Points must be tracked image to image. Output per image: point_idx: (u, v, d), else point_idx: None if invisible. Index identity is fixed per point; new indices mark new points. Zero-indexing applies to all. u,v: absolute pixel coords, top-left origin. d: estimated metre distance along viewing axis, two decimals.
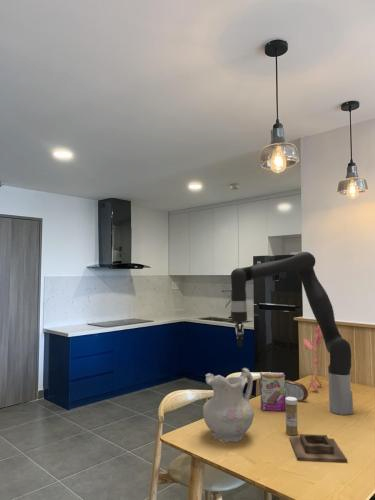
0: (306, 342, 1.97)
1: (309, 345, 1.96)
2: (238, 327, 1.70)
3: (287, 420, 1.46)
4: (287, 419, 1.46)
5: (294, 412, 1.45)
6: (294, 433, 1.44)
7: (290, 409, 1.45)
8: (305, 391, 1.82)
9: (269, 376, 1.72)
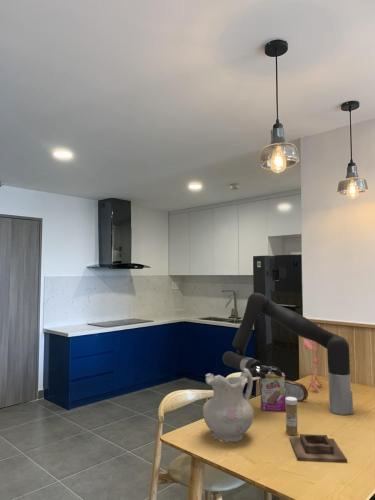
0: (306, 342, 1.97)
1: (309, 345, 1.96)
2: None
3: (287, 420, 1.46)
4: (287, 419, 1.46)
5: (294, 412, 1.45)
6: (294, 433, 1.44)
7: (290, 409, 1.45)
8: (305, 391, 1.82)
9: (269, 376, 1.72)
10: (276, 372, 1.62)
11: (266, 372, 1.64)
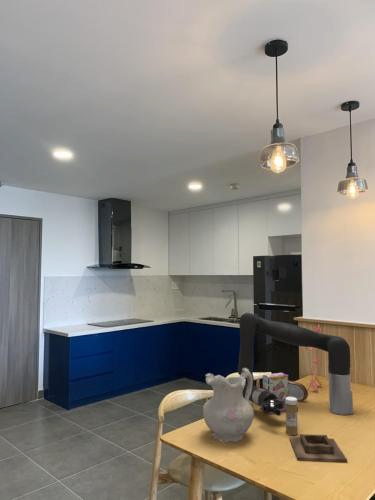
0: None
1: None
2: (260, 408, 1.54)
3: (287, 420, 1.46)
4: (287, 419, 1.46)
5: (294, 412, 1.45)
6: (294, 433, 1.44)
7: (290, 409, 1.45)
8: (305, 391, 1.82)
9: (275, 378, 1.69)
10: None
11: (281, 406, 1.54)
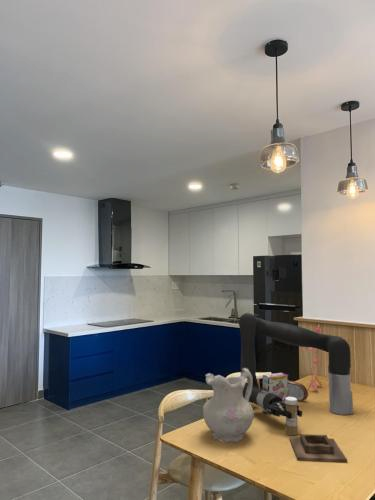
0: None
1: None
2: (268, 411, 1.50)
3: (287, 420, 1.46)
4: (287, 419, 1.46)
5: (294, 412, 1.45)
6: (294, 433, 1.44)
7: (290, 409, 1.45)
8: (305, 391, 1.82)
9: (275, 378, 1.69)
10: None
11: (284, 409, 1.51)
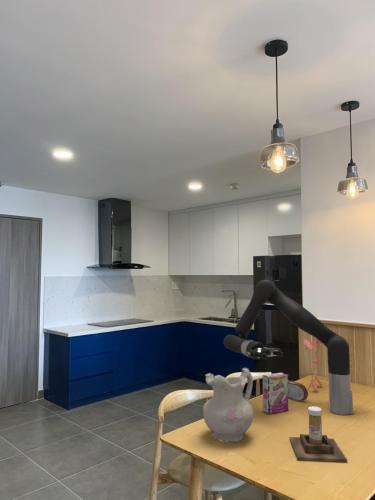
0: (306, 342, 1.97)
1: (309, 345, 1.96)
2: (248, 354, 1.63)
3: (311, 433, 1.31)
4: (311, 431, 1.32)
5: (318, 424, 1.31)
6: None
7: (314, 421, 1.31)
8: (305, 391, 1.82)
9: (275, 378, 1.69)
10: (277, 353, 1.61)
11: (267, 353, 1.63)
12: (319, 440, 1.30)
